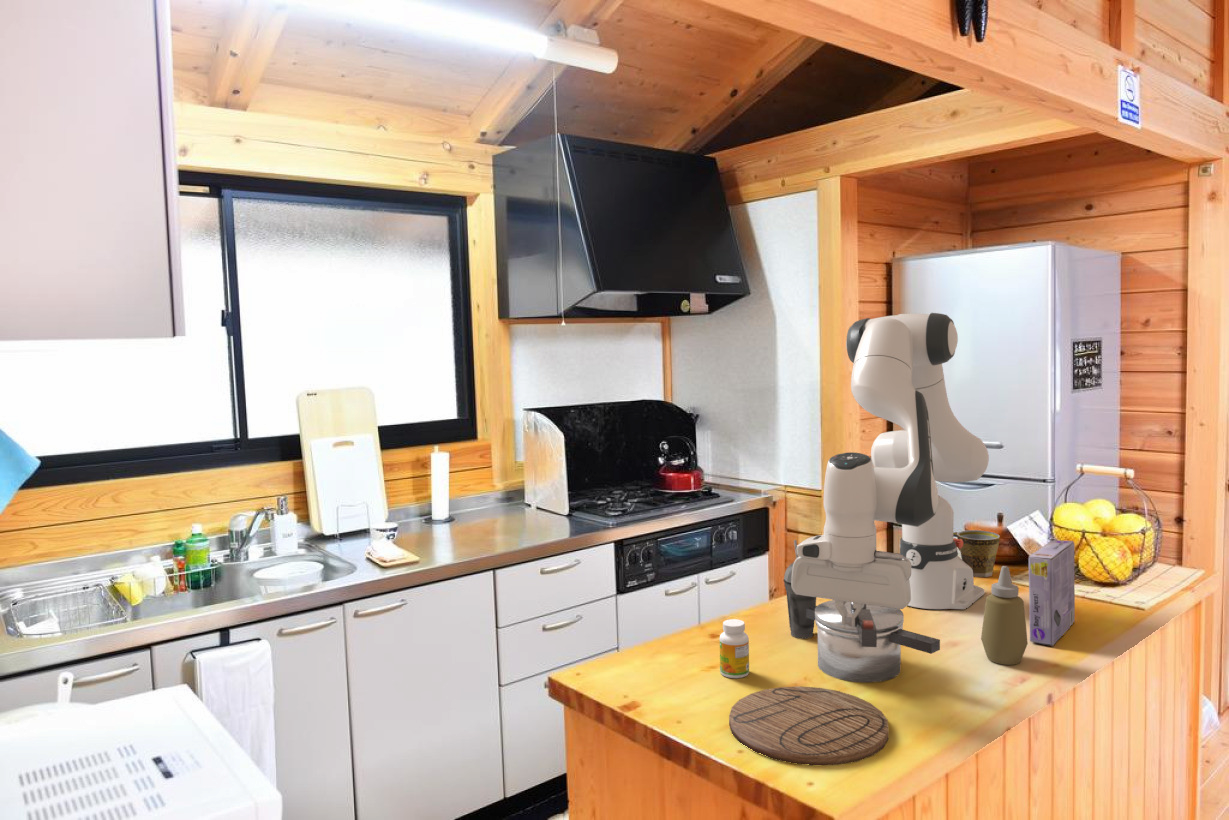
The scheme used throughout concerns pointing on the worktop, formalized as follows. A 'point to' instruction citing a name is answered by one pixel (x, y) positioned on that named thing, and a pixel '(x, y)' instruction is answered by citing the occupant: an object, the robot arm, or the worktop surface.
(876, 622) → the lid
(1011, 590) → the squeeze bottle
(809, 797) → the worktop surface
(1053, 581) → the cake pan box
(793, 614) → the beverage cup
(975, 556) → the ceramic cup
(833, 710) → the trivet
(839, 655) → the pot
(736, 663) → the supplement bottle
